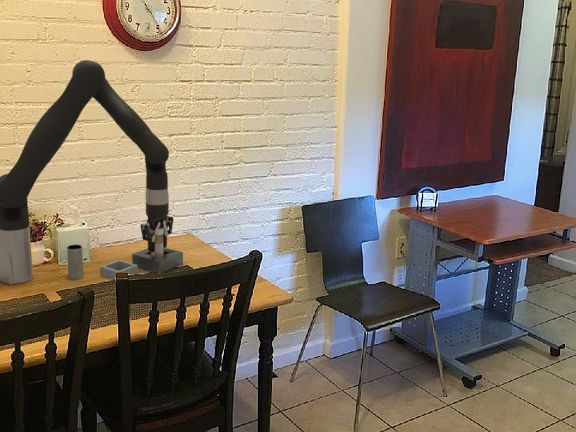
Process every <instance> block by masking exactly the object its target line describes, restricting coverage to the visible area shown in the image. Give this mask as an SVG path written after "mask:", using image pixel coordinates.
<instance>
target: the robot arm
mask: <svg viewBox="0 0 576 432" xmlns="http://www.w3.org/2000/svg"><path fill="white" fill-rule="evenodd" d="M92 98H93V99H94V100H95V101H96V102H97V103H98V104H99V105H100V106H101V107H102V108H103V110H104V111H106V112H107V114H108V115H109V116H110V117H111V119H112V120H113V121H114V122H115V123H116V125H117V126H118V127H119V128H120V130H121V131H122V132H123V133H124V134H125V135H126V136H127V137H128V139H130V140H131V142H133V143H134V144H135V145H136V146H137V147H138V149H139V150H140V151H141V152H142V154H144V163H145V170H146V175H145V184H146V186H145V215H146V217H147V220H146V222H145V223H140V229H141V230H140V231H141V232H140V233H141V236H142V241H147V248H148V250H149V251H150V252H155V241H154V240H155V236H156V235H157V233H158V229H160V228H163V229H164V234H163V243H164V248H168V237H169V235H172V232H173V225H174V216H169V211H170V209H169V205H170V204H169V202H170V201H169V199H170V197H169V189H168V188H169V186H168V185H169V179H168V178H169V177H168V171H167V170H166V169H167V167H166V166H167V165H166V163H167V161H168V160H169V157H170V152H169V149H168V147H167V146H166V144H165V143H163V141H161V139H160V138H158V136H157V135H155V133H154V132H153V131H152V130H151V128H150V127H149V126H148V124H147V123H146V122H145V121H144V120H143V118H141V116H140V115H139V114H138V113H137V112H136V111H135V110H134V109H133V108H132V107H131V106H130V105H129V104H128V103H127V102H126V101H125V100H124V99H123V98H122V97H121V96H120V95H119V94H118V93H117V92H116V91H115V89H114V88H113V87H112V85H111V84H110V83H109V81H108V80H107V78H106V72H105V70H104V68H103V66H102V65H101V64H100V63H98V62H96V61H93V60H89V59H87V60H81V61H79V62H77V63H76V64H74V67H73V68H72V73H71V77H70V80H69V82H68V83H67V86H66V87H65V89H64V90H63V92H62V94H61V95H60V96H59V97H58V98H57V99H56V100H55V101H54V103H53V104H52V105H50V106H49V108H48V109H47V110H46V111H45V112H44V113H43V115H42V116H41V117H40V118H39V120H38V121H37V123H36V125H35V126H34V128H33V129H32V130H31V132H30V134H29V135H28V138H27V139H26V142H25V144H24V146H23V149H22V151H21V153H20V155H19V158H18V160H17V161H16V163H15V164H14V165H13V166H12V168H11V169H10V171H9V172H8V173H5V174H2V175H0V282H2V283H3V284H4V283H5V284H7V285H11V286H12V285H15V284H16V285H17V284H23V283H27V282H29V281H31V280H32V279H34V273H33V272H34V271H33V258H32V256H33V255H32V244H31V227H30V214H29V205H28V197H29V194H30V192H31V191H32V189H33V188H34V185H35V183H36V181H37V179H38V178H39V176H40V175H41V173H42V172H43V171H44V169H45V168H46V167H47V165H49V163H50V162H51V160H52V159H53V158H54V157H55V155H56V153H57V152H58V151H59V150H60V149H61V147H62V146H63V144H64V143H65V141H66V140H67V138H68V137H69V135H70V133H71V131H72V130H73V128H74V126H75V125H76V122H77V121H78V119H79V117H80V115H81V114H82V112H83V110H84V109H85V107H86V106H87V104H89V103H90V101H91V100H92ZM150 229H151V230H154V232H151V231H150ZM151 234H152V238H151Z"/></svg>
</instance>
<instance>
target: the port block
mask: <svg viewBox="0 0 576 432" xmlns="http://www.w3.org/2000/svg"><path fill="white" fill-rule="evenodd" d="M131 260H132V264H136V265H138V270H143V271H146V272H150V273H153V274H156V273H159V272H163V271H166V272H169V271H171V270H173V269H176V268H177V267H180V266H182V265H184V252H183V251H180V250H177V249H173V248H170V247H166V248H164V256H161V257H155V256H151V252H150V251H149V250H148V247H147V248H145V249H142V250H140V251H137V252H134V253H131ZM170 269H171V270H170Z"/></svg>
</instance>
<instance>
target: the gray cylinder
mask: <svg viewBox="0 0 576 432" xmlns="http://www.w3.org/2000/svg"><path fill="white" fill-rule="evenodd" d="M66 248H67V249H66V253H67V271H68V272H67V274H68V279H70V280H74V281H75V280H76V281H77V280H81V279H83V278H84V262H83V259H84V258H83V246H82V245H81V244H70V245H68V246H67V247H66Z"/></svg>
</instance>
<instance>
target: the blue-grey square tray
mask: <svg viewBox="0 0 576 432" xmlns="http://www.w3.org/2000/svg"><path fill="white" fill-rule="evenodd" d="M99 268H100V269H99V270H100V271H99V272H100V276H101V277H105V278H108V279H111V280H114V281H116V280H115V277H116V273H118V272H126V273H128V274H136V275H138V274H139V268H138V265H136V264H132V263H131V262H129V261H126V260H121V259H118V260H114V261H112V262H110V263H109V262H108V263H107V264H104V265H100V266H99Z"/></svg>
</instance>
